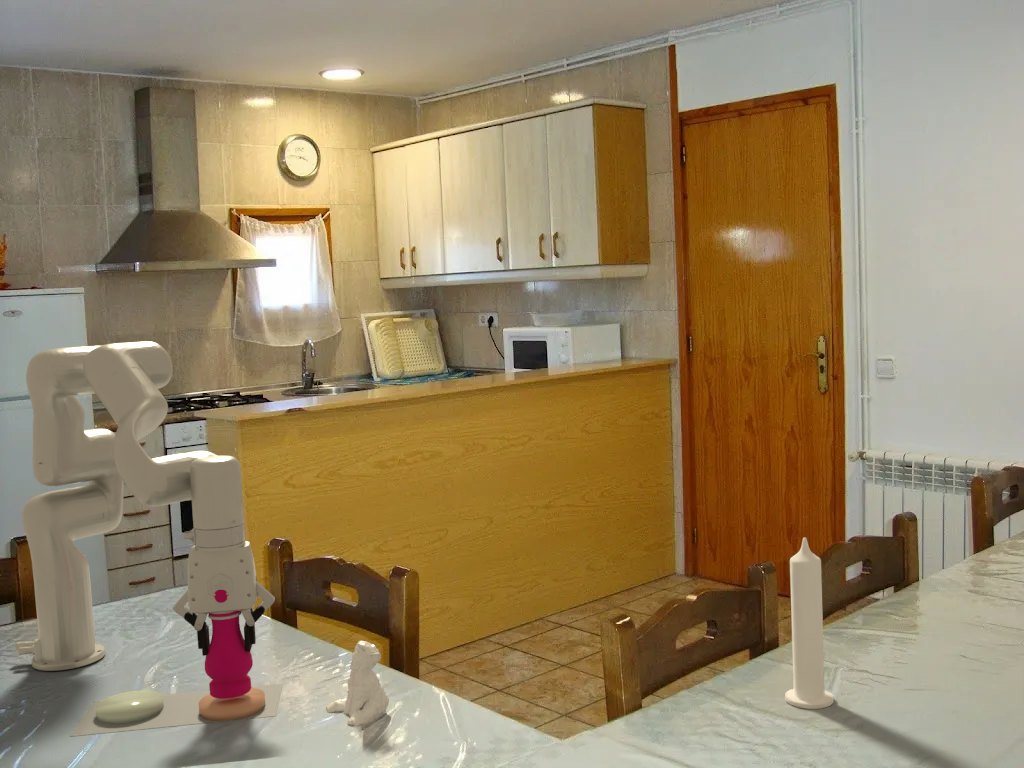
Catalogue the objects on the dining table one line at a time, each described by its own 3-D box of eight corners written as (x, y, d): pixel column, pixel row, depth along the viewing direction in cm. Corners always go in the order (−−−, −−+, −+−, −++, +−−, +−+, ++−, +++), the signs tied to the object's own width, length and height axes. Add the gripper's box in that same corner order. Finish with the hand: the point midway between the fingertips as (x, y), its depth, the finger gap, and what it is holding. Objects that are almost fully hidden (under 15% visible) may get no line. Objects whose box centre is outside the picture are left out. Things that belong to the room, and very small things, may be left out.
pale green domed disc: (88, 727, 160) (88, 717, 160) (104, 702, 170) (104, 693, 170) (157, 720, 161) (156, 710, 161) (169, 696, 171) (168, 687, 171)
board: (70, 744, 157) (69, 736, 157) (94, 708, 171) (93, 701, 171) (276, 723, 161) (275, 715, 161) (283, 690, 175) (282, 683, 175)
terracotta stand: (194, 724, 159) (193, 714, 159) (204, 699, 169) (203, 690, 169) (262, 717, 161) (261, 707, 160) (268, 693, 170) (267, 684, 170)
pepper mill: (241, 701, 161) (232, 571, 159) (198, 699, 162) (188, 571, 160) (262, 683, 168) (253, 559, 166) (220, 682, 169) (211, 559, 167)
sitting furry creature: (322, 717, 163) (317, 640, 162) (371, 702, 168) (367, 628, 167) (352, 735, 155) (347, 655, 154) (402, 719, 161) (398, 641, 160)
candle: (834, 693, 162) (830, 532, 160) (832, 711, 155) (828, 543, 153) (787, 690, 164) (782, 531, 162) (783, 707, 158) (778, 542, 156)
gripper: (157, 546, 158) (165, 664, 159) (274, 537, 160) (282, 654, 162) (166, 535, 165) (174, 648, 167) (278, 527, 168) (285, 638, 169)
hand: (227, 649), depth 164 cm, fingers closed on pepper mill, 5 cm apart
